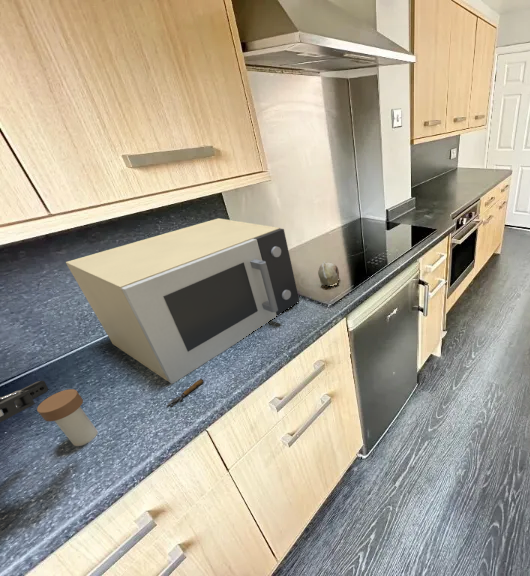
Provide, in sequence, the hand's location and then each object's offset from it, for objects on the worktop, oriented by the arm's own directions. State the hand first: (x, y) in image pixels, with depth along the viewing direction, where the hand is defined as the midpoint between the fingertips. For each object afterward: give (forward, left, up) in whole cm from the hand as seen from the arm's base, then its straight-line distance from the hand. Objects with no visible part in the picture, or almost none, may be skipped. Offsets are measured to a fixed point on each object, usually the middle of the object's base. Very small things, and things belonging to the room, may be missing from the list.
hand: (20, 390), depth 55 cm
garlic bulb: (+53, +61, -17) cm, 83 cm away
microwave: (+15, +44, -17) cm, 49 cm away
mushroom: (0, +4, -17) cm, 17 cm away
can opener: (+17, +12, -17) cm, 27 cm away
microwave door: (+25, +27, -17) cm, 41 cm away
